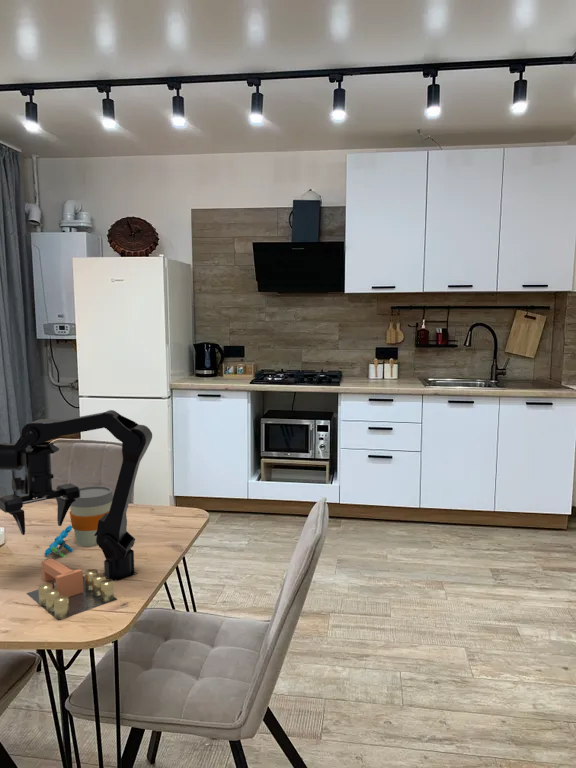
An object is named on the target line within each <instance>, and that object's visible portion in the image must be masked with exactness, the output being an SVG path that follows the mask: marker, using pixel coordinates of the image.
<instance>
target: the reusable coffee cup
mask: <svg viewBox="0 0 576 768" xmlns="http://www.w3.org/2000/svg"><path fill="white" fill-rule="evenodd" d="M78 488H79V489H80V497H79V498H74V499H76V501H75V502H72V504H71V506H70V508H69V509H70V510H69V517H70V522H71V526H72V530H74V538H75V541H76V545H77V546H79V547H84V548H85V547H96V546H98V544H97V543H96V537H97V536H94V535H95V533H96V532H97V528H98V521H99V520H100V519H101V518H102V517H103V516H104V515H105V514H106V513H107V514H109V511H110V507H111V503H112V500H113V496H114V494H113V489H112V488H111V487H108V486H103V485H102V486H99V485H97V486H96V485H94V486H84V487H78Z"/></svg>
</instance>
